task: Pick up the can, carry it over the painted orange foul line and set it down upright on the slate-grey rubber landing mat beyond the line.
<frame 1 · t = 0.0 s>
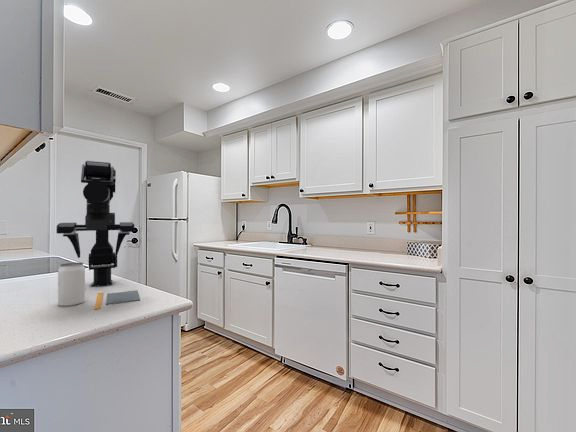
hand: (98, 256, 84), 15 cm above the counter, fingers open, 9 cm apart
can: (71, 303, 86), on the counter
foul line: (99, 300, 89), on the counter
landing mat: (123, 297, 92), on the counter
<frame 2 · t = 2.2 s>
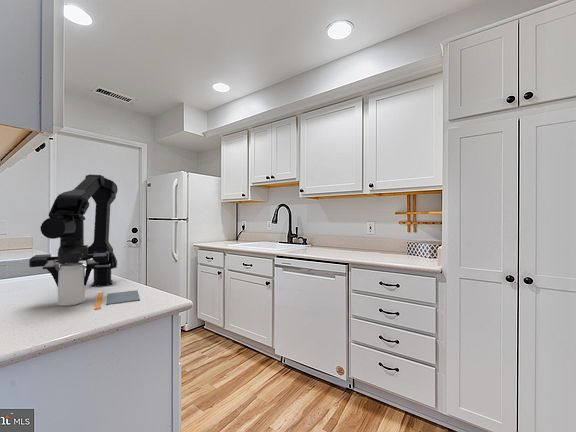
hand: (72, 286, 86), 5 cm above the counter, fingers closed on can, 6 cm apart
can: (71, 303, 86), on the counter, touching gripper
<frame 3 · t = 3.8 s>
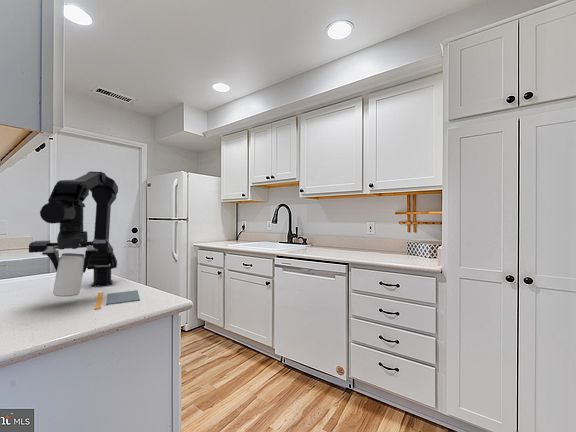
hand: (71, 273, 86), 9 cm above the counter, fingers closed on can, 6 cm apart
can: (66, 294, 85), point 3 cm above the counter, touching gripper
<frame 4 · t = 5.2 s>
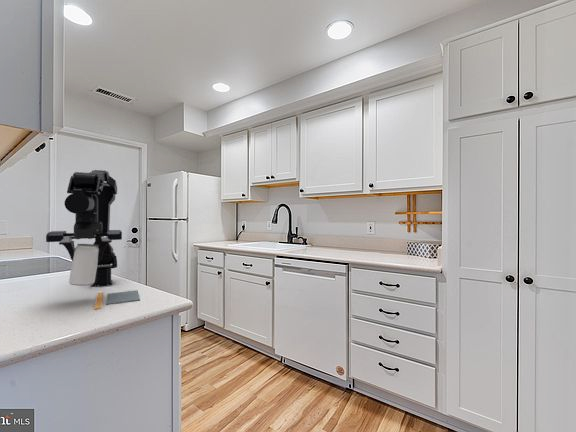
hand: (86, 263, 88), 12 cm above the counter, fingers closed on can, 6 cm apart
can: (81, 284, 87), point 6 cm above the counter, touching gripper
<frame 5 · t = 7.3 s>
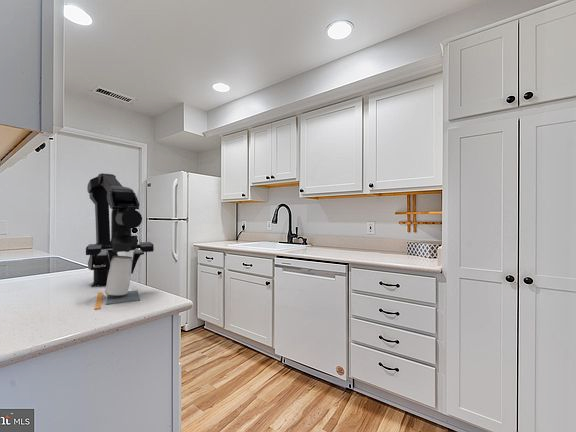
hand: (121, 274, 93), 7 cm above the counter, fingers closed on can, 6 cm apart
can: (116, 294, 92), point 1 cm above the counter, touching gripper
when the fingers open (7 cm above the counter, at t = 8.1 s): can stays where it is, resting on landing mat.
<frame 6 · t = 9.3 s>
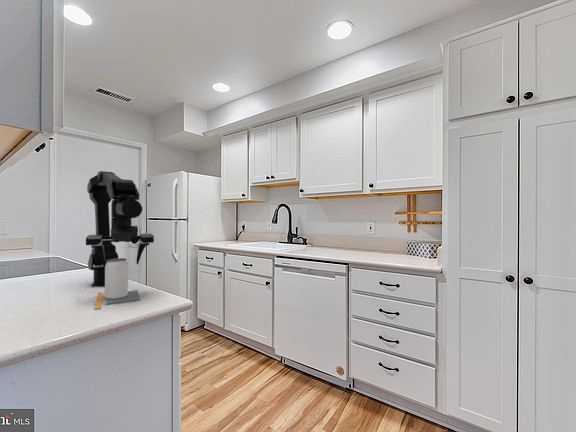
hand: (121, 265, 93), 10 cm above the counter, fingers open, 9 cm apart
can: (116, 297, 92), resting on landing mat
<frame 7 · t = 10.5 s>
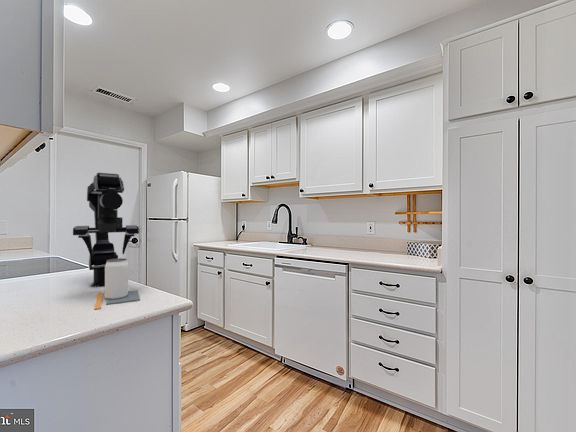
hand: (107, 255, 98), 13 cm above the counter, fingers open, 9 cm apart
nothing on the counter moved.
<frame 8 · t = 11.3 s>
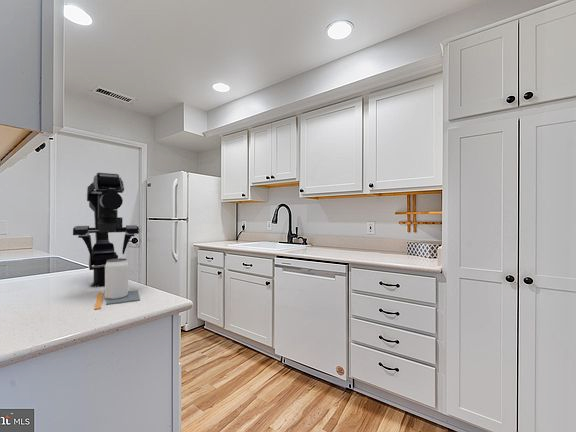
hand: (107, 255, 98), 13 cm above the counter, fingers open, 9 cm apart
nothing on the counter moved.
at the end: can inside the target area (4.1 cm from its centre), resting on landing mat; can tilted 0°; the gripper is holding nothing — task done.
